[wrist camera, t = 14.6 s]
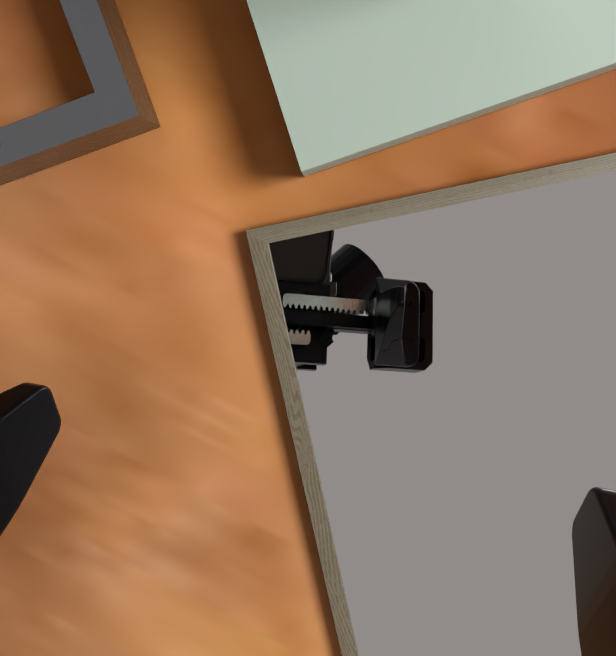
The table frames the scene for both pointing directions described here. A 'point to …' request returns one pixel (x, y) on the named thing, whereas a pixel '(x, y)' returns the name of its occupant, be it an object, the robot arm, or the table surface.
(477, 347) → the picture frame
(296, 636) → the table surface
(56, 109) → the offcut tray
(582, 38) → the green board
